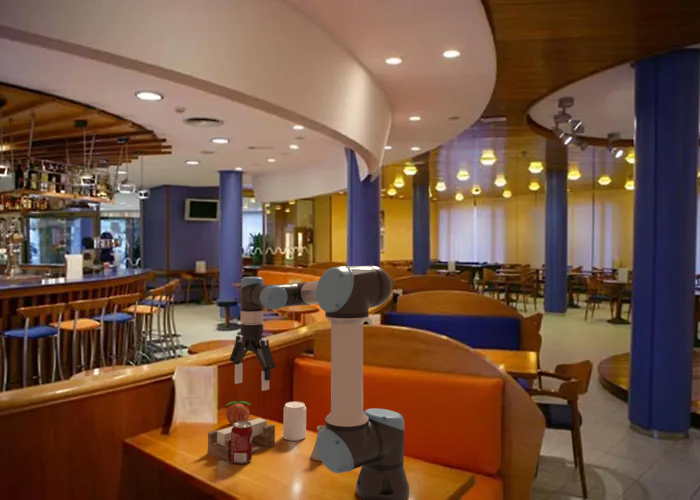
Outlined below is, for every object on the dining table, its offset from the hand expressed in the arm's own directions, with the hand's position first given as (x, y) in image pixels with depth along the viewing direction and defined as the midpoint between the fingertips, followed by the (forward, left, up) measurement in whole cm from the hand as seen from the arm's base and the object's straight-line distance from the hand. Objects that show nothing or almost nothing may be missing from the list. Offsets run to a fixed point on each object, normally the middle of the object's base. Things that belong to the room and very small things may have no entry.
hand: (251, 386), depth 185 cm
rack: (+3, +1, -22) cm, 22 cm away
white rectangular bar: (+3, +1, -18) cm, 18 cm away
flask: (-21, -12, -22) cm, 33 cm away
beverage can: (-2, -18, -22) cm, 29 cm away
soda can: (-4, +7, -22) cm, 24 cm away
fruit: (+23, -13, -22) cm, 35 cm away
